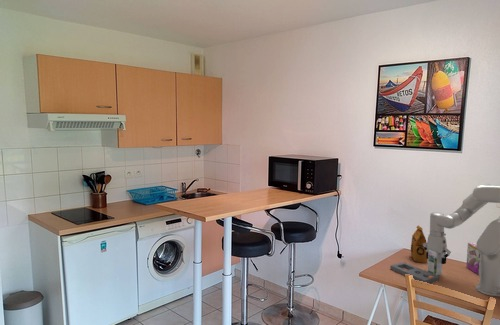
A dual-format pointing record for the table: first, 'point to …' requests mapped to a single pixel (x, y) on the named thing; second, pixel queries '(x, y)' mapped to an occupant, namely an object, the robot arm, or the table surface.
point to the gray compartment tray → (414, 272)
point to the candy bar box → (473, 258)
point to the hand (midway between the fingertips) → (435, 261)
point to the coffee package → (418, 246)
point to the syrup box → (434, 263)
